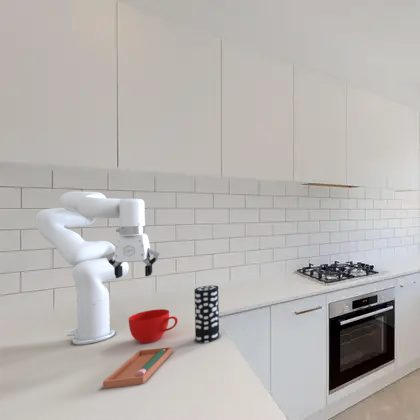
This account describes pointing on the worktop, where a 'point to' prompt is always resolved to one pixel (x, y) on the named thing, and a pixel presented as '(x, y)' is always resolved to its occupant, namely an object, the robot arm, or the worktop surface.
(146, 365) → the pencil
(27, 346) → the worktop surface
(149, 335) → the ceramic cup
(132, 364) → the pencil tray
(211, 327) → the white-spotted black cylinder
